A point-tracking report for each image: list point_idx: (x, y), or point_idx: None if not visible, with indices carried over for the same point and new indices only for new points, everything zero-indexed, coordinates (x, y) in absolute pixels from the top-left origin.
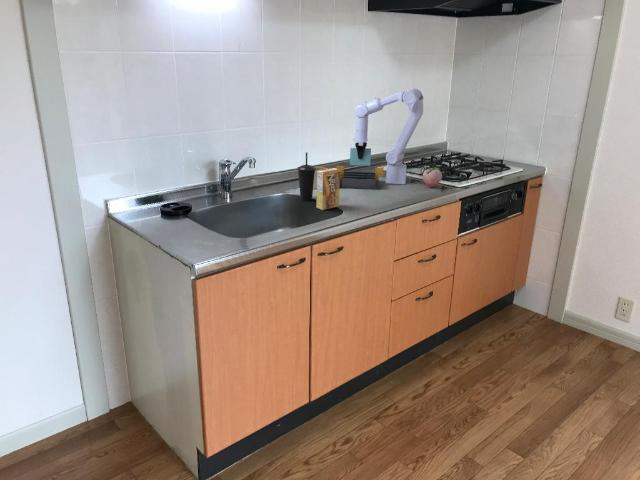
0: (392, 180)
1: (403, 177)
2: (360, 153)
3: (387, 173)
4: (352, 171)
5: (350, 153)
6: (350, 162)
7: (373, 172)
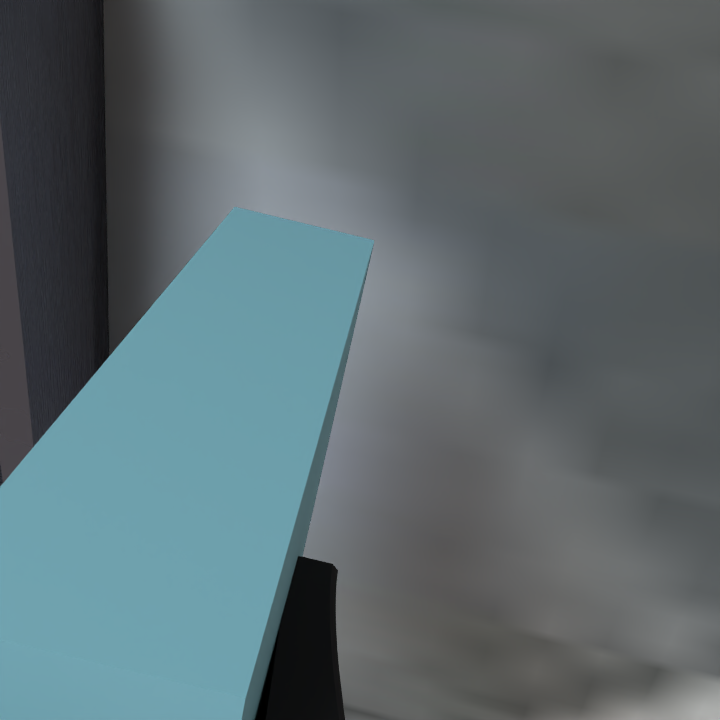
0: None
1: None
2: None
3: None
4: (4, 186)
5: (71, 413)
6: (209, 249)
7: None
